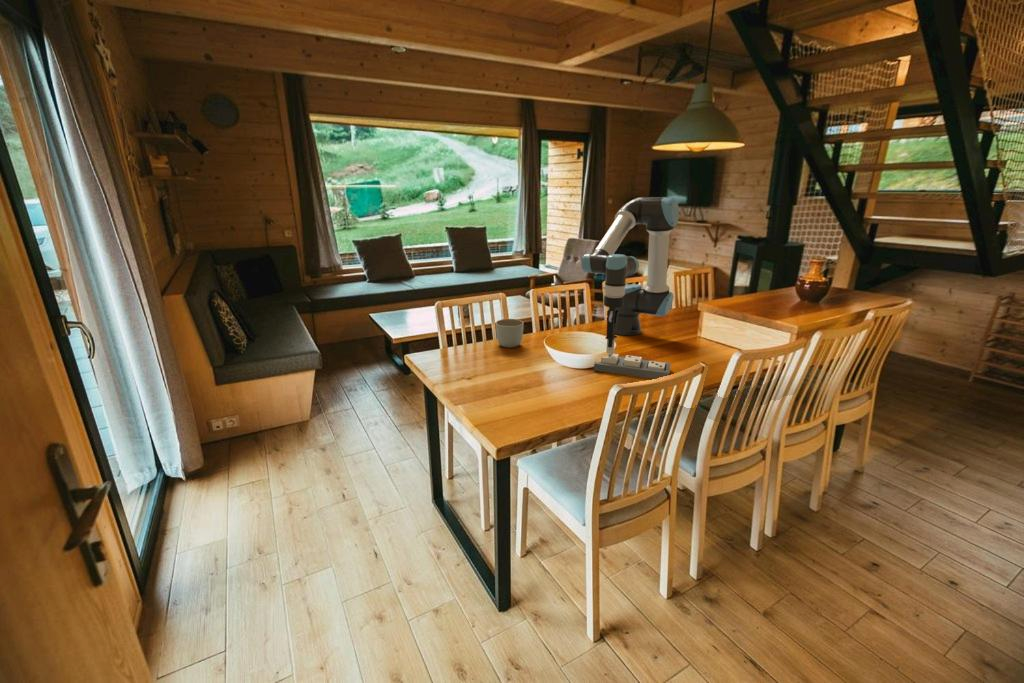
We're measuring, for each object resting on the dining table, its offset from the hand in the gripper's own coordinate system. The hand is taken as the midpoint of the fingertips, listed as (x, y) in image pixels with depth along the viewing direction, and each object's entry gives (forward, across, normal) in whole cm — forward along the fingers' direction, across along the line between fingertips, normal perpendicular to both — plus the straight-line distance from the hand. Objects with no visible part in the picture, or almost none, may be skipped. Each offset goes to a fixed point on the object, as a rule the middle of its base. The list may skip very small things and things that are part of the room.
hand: (609, 354), depth 187 cm
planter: (+6, -11, -47) cm, 49 cm away
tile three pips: (+4, 0, +18) cm, 19 cm away
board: (+6, 0, +9) cm, 11 cm away
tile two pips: (+3, 0, +9) cm, 10 cm away
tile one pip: (+3, 0, 0) cm, 3 cm away
